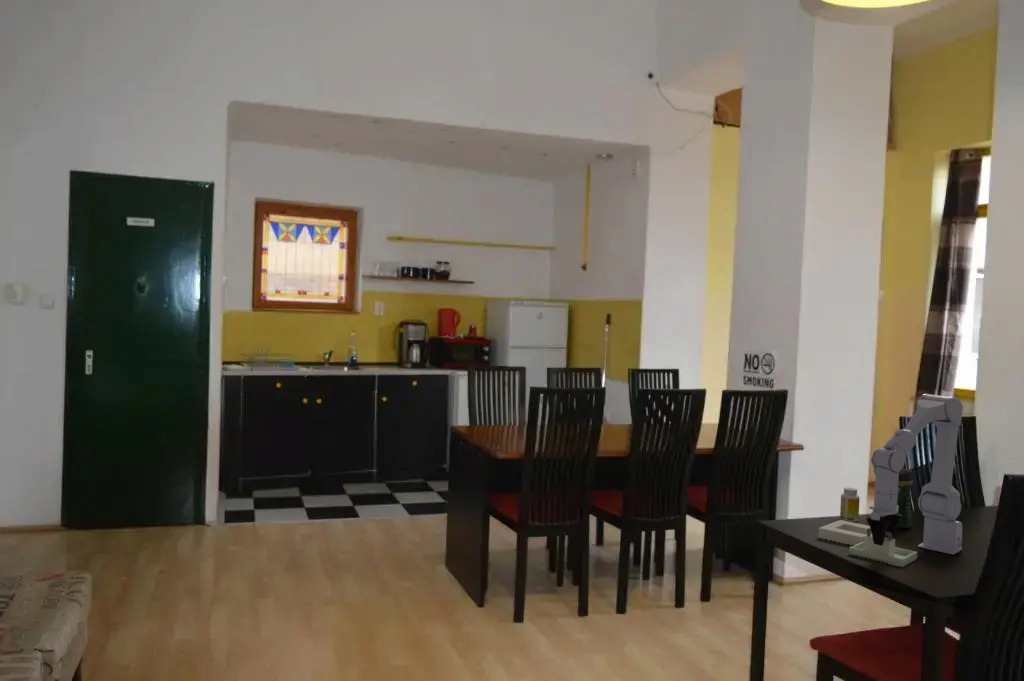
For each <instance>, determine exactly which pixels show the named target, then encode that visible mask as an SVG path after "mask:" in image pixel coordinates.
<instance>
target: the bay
mask: <svg viewBox="0 0 1024 681" xmlns="http://www.w3.org/2000/svg"><path fill="white" fill-rule="evenodd" d="M868 528H870V526H869V525H867V524H862V523H856V522H848V521H844V520H842V519H839V520H836V521H833V522H832V523H831V522H830V523H828V524H825V525H823V526H820V527H818V539H821V538H822V540H825V539H827V540H826V541H830V540H832V541H831V542H834V541H836V542H835V543H839V542H840V543H839V544H843V543H844V544H845V545H847V544H849V546H852V545H856V544H858V543H861V542H863V536H865V535H867V529H868ZM871 534H872V532H871Z"/></svg>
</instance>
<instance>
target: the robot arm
mask: <svg viewBox="0 0 1024 681" xmlns="http://www.w3.org/2000/svg"><path fill="white" fill-rule="evenodd" d="M963 408H964V405H963V404H962V402H961V401H960V399H959V398H958V397H956V396H947V395H937V394H931V393H924V394H922V395H921V396H920V398H919V399H918V400H917V401H916V410H915V412H914V413H913V415H912V417H911V418H910V420H909V421H908V423H907V424H906V426H905V427H904V428H901V429H897V430H896V431H895V432H894V434H892V436H891V437H890V439H888V440H887V442H886V443H885V444H884V445H883V447H880V448H877V449H875V450H874V451H873V453H872V456H871V458H870V463H871V465H872V467H873V468H872V469H873V474H874V475H875V478H874V495H873V496H874V498H873V505H870V506H869V509H870V510H872V511H871V512H870V516H867V517H866V522H867V524H868V526H870V529H871V532H872V537H873V542H874V544H876V545H881V546H882V545H883V542H884V538H885V537H888V536H886V535H885V533H886V532H890V533H891V534H892V539H895V535H896V532H897V529H898V528H897V526H898V524H899V522H900V520H901V519H902V517H903V515H901V514H897V513H898V508H899V506H898V505H897V497H898V477H899V471H900V470H901V469H902V468H904V466H905V464H906V463H905V462H906V459H907V455H908V454H909V452H910V451H911V450H912V449H913V448H914V446H915V445H916V444H917V439H916V437H917V436H918V435H919V433H921V432H922V431H923V430H924V429H925V428H926V427H927V426H928V424H930V423H933V425H934V426H935V427H936V434H935V435H936V436H935V437H936V438H935V445H934V454H933V463H932V469H931V477H930V482H928V483H926V484H924V485H923V486H922V487H921V492H920V495H919V497H918V500H917V506H918V509H919V510H920V512H921V514H922V516H924V519H923V521H924V522H923V524H924V525H923V539H922V540H923V542H921V543H920V544H918V545H917V547H918V548H921V549H922V548H923V549H925V550H931V551H936V552H940V553H944V554H949V555H955V554H958V553H959V552H960V551H962V550H963V548H962V545H963V544H962V542H963V523H962V522H961V521H959V520H956V519H957V518H958V517H959V516H960V513H961V511H962V504H961V493H960V492H959V490H957V489H956V488H955V487H954V486H953V485H952V483H953V474H954V469H955V468H954V466H955V458H956V452H957V451H956V450H957V443H958V442H957V441H958V435H959V434H958V433H959V427H960V426H961V425H962V418H963Z"/></svg>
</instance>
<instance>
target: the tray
mask: <svg viewBox="0 0 1024 681" xmlns="http://www.w3.org/2000/svg"><path fill="white" fill-rule="evenodd" d="M848 555H849V556H852V555H854V556H853V557H856V556H858V558H861V557H862V559H865V558H867V559H866V560H869V559H871V560H870V561H874V560H876V561H875V562H878V561H880V562H879V563H882V562H885V563H884V564H886V563H888V565H890V566H896V567H900V568H905V567H906V566H907V565H910V564H911V563H912V562H914V561H916V559H917V560H918V551H914V550H910V549H906V548H903V547H902V548H901V547H897V546H895V554H894V556H892V557H891V556H887V555H883V554H878V553H874V552H869V551H865V550H863V542H861V543H858V544H856V545H854V546H852V545H851V546H850V547H849V548H848Z"/></svg>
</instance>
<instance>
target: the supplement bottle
mask: <svg viewBox="0 0 1024 681" xmlns="http://www.w3.org/2000/svg"><path fill="white" fill-rule="evenodd" d="M839 513H840V514H839V518H840V517H841V518H840V520H843V521H848V522H853V523H856V522H858V521H859V518H860V517H859V516H860V515H859V514H860V496H859V495H858V488H853V487H844V488H843V493H842V494H840V510H839Z"/></svg>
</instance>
